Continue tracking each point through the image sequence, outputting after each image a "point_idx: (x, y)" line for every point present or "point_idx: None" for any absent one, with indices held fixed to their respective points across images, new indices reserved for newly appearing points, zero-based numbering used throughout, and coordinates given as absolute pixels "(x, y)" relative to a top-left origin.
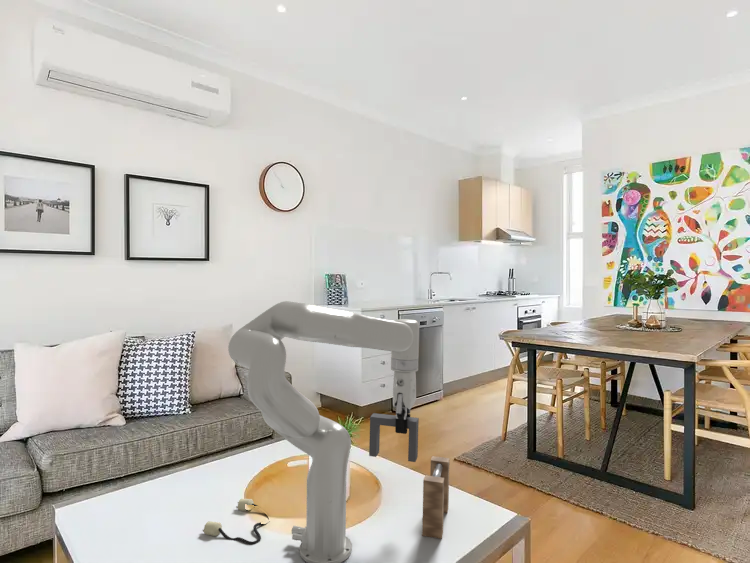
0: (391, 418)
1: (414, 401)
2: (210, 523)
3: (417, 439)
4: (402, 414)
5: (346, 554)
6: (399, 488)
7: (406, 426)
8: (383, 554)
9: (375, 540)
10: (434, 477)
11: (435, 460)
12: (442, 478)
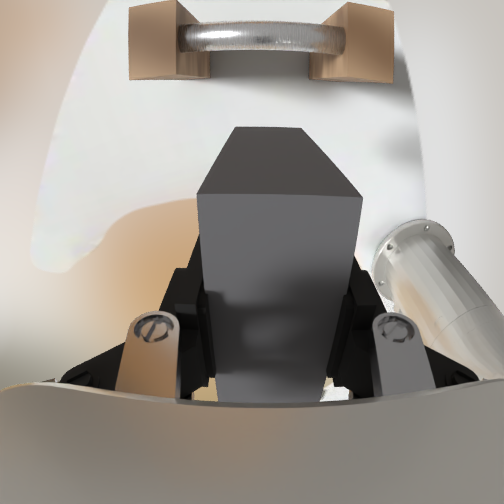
0: (306, 398)
1: (178, 439)
2: None
3: (250, 144)
4: (476, 377)
5: (438, 226)
6: (124, 181)
7: (356, 266)
8: (416, 159)
9: (375, 182)
10: (356, 39)
11: (172, 53)
12: (355, 9)
